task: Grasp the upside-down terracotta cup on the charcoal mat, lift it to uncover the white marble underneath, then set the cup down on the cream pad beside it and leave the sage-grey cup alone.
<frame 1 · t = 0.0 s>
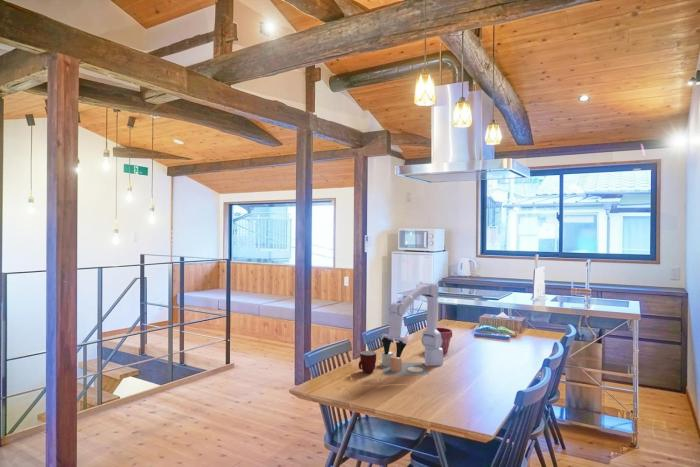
hand: (392, 355, 219), 11 cm above the table, tool pointing down, fingers open, 7 cm apart
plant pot: (439, 351, 266), on the table
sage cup: (387, 364, 237), point 1 cm above the table, touching mat
terracotta cup: (395, 370, 229), point 1 cm above the table, touching mat
mug: (366, 374, 225), on the table
mat: (403, 369, 231), on the table
marble: (395, 367, 229), point 2 cm above the table, touching mat
pad: (415, 369, 229), resting on mat
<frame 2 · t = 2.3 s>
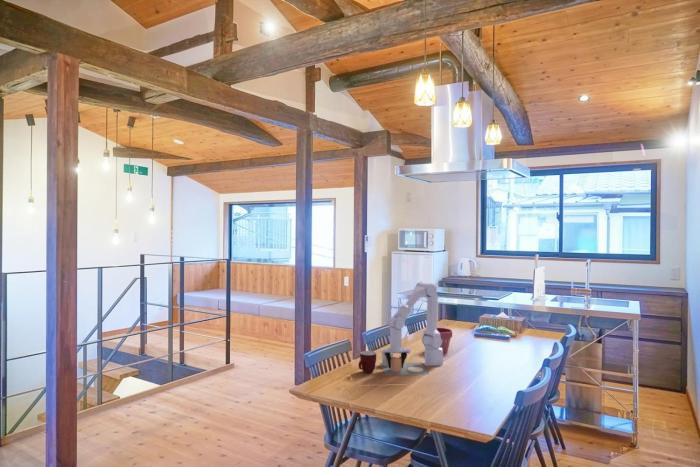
hand: (395, 367, 229), 2 cm above the table, tool pointing down, fingers closed on terracotta cup, 6 cm apart
terracotta cup: (395, 370, 229), point 1 cm above the table, touching gripper, mat
everything else where it was.
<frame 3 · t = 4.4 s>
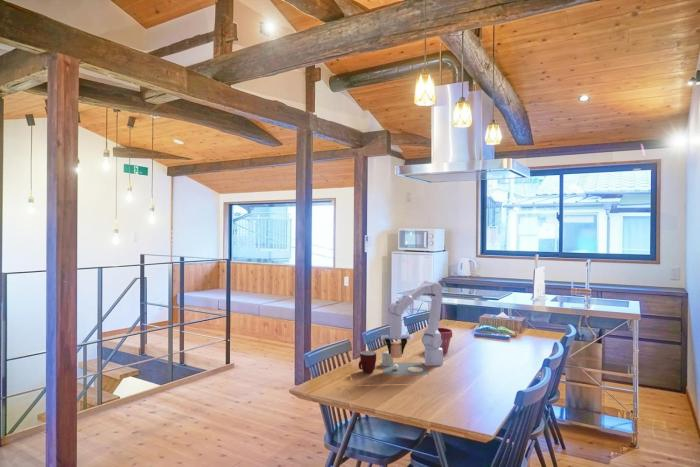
hand: (395, 353, 229), 9 cm above the table, tool pointing down, fingers closed on terracotta cup, 6 cm apart
terracotta cup: (395, 356, 229), point 8 cm above the table, touching gripper
everything else where it was.
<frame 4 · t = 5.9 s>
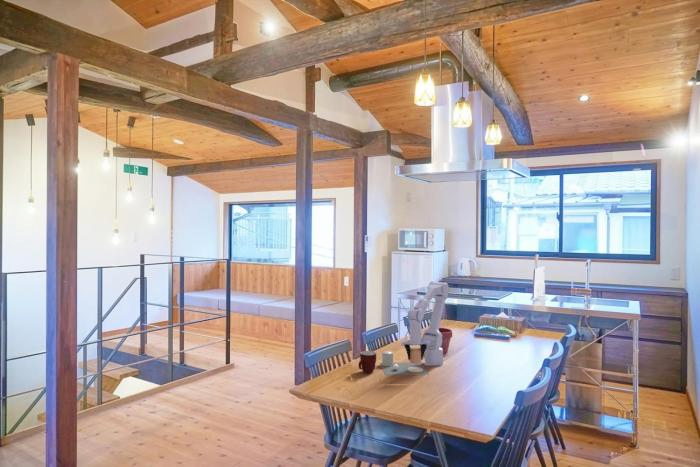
hand: (415, 359, 229), 6 cm above the table, tool pointing down, fingers closed on terracotta cup, 6 cm apart
terracotta cup: (415, 361, 229), point 5 cm above the table, touching gripper
everything else where it was.
when the fingers open (3 cm above the table, at t = 6.9 s): terracotta cup drops 1 cm, resting on pad.
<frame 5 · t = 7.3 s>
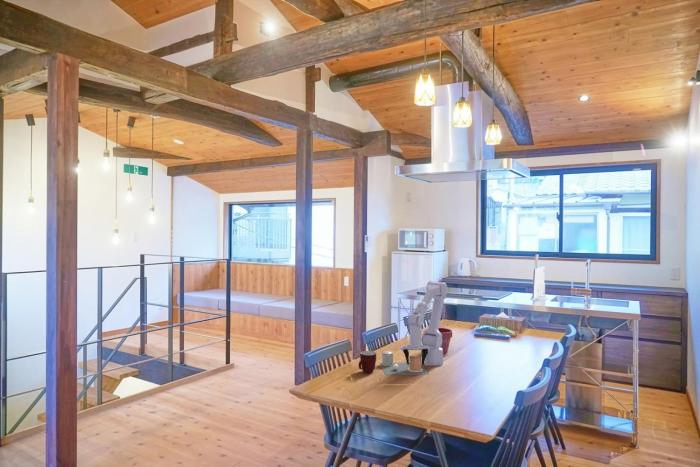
hand: (415, 364, 229), 3 cm above the table, tool pointing down, fingers open, 7 cm apart
terracotta cup: (415, 369, 229), point 1 cm above the table, touching pad
everything else where it was.
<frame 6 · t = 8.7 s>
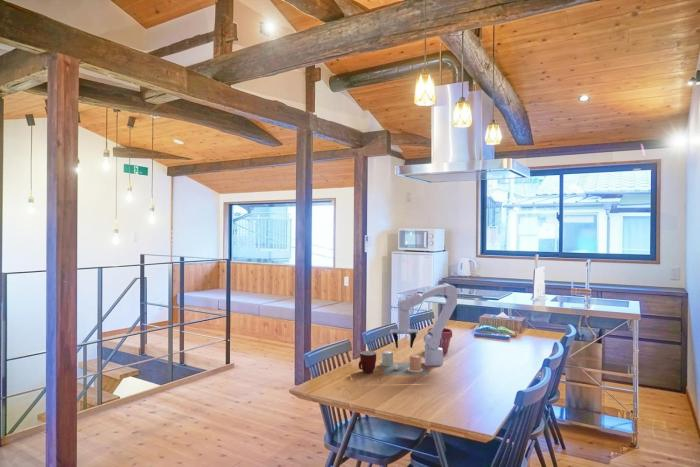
hand: (404, 347, 239), 9 cm above the table, tool pointing down, fingers open, 7 cm apart
nothing on the table moved.
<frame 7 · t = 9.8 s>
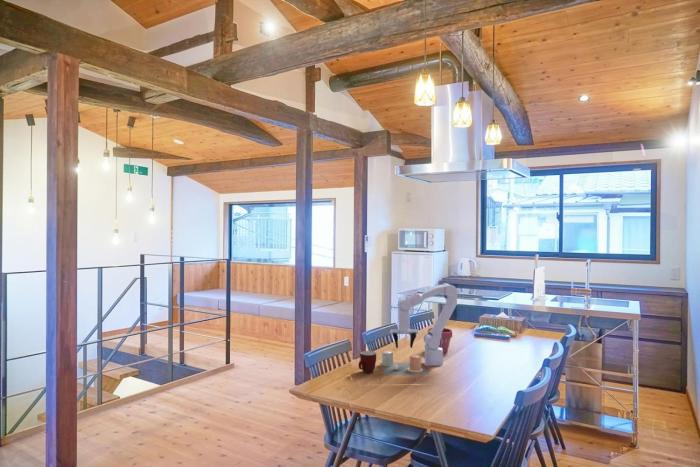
hand: (404, 347, 239), 9 cm above the table, tool pointing down, fingers open, 7 cm apart
nothing on the table moved.
at the end: terracotta cup 0.0 cm off-centre on the pad, point 0.3 cm above the pad's base; terracotta cup tilted 0°; the gripper is holding nothing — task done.
